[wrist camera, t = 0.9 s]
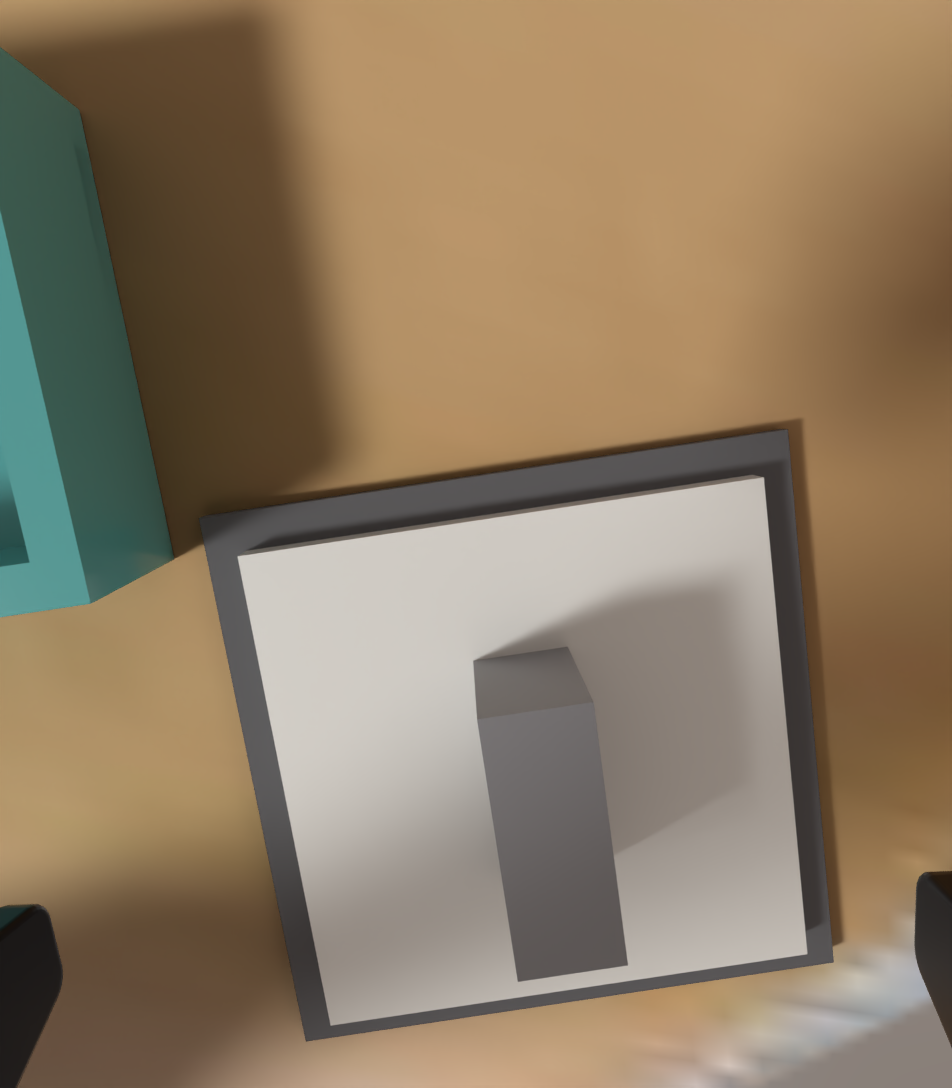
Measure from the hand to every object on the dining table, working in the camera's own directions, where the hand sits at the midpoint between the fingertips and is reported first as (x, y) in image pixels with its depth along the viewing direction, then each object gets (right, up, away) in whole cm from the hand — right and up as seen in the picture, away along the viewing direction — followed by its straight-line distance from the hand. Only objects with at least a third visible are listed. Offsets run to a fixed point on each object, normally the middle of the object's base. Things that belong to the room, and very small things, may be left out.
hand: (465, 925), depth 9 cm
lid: (+2, -2, +14) cm, 14 cm away
